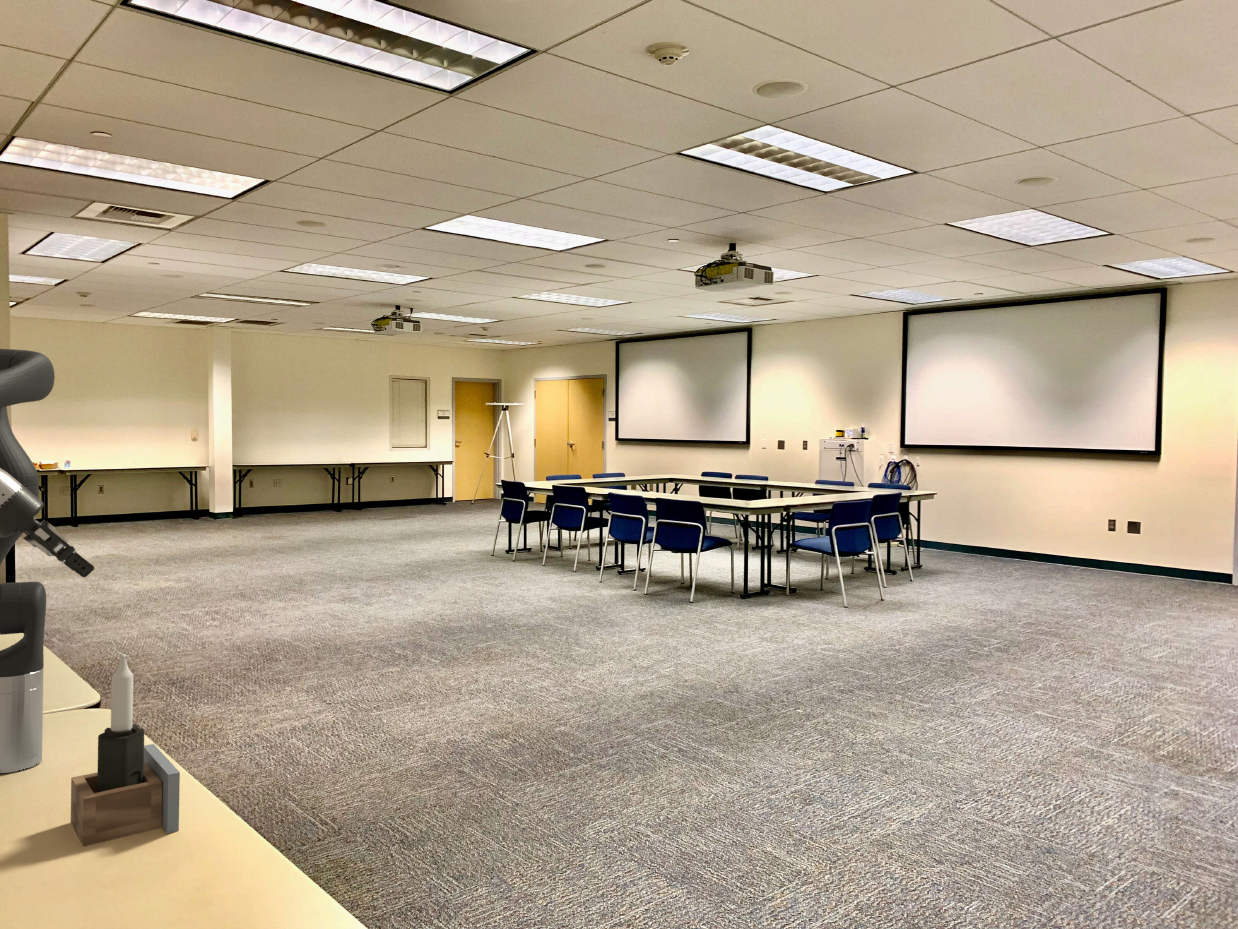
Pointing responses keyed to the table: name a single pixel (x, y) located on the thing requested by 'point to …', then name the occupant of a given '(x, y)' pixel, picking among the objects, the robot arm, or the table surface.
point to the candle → (121, 737)
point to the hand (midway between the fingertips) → (84, 569)
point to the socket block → (115, 808)
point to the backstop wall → (165, 786)
